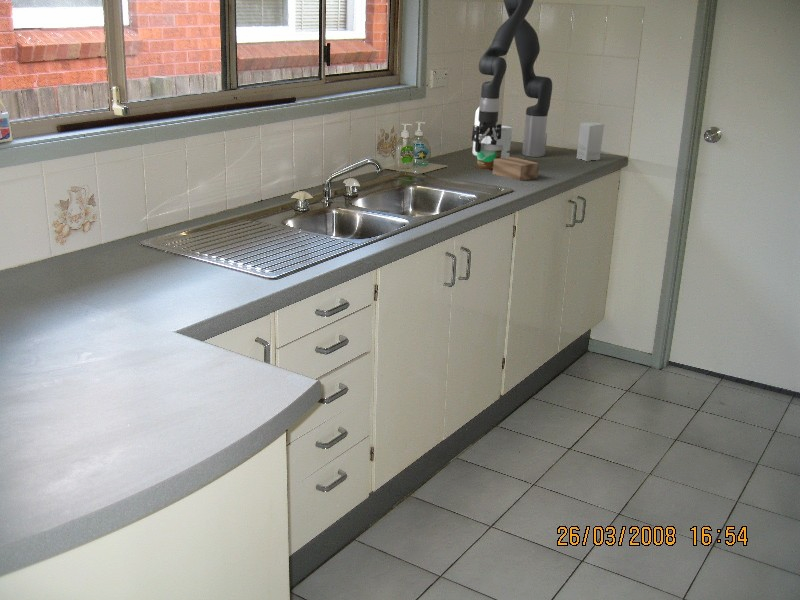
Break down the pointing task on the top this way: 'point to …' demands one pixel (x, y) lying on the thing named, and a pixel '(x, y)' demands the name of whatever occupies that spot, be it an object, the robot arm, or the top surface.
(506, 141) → the skincare box
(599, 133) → the skincare box
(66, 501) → the top surface
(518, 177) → the walnut block
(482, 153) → the food container
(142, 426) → the top surface
